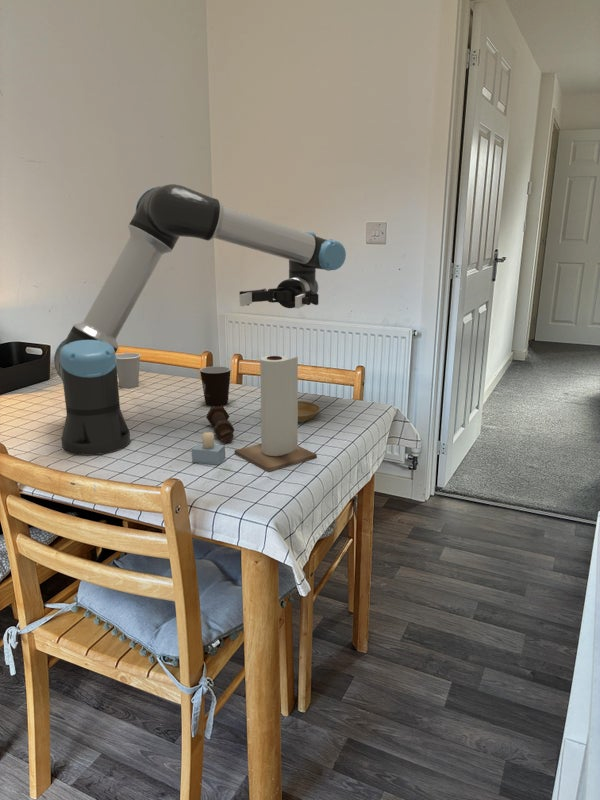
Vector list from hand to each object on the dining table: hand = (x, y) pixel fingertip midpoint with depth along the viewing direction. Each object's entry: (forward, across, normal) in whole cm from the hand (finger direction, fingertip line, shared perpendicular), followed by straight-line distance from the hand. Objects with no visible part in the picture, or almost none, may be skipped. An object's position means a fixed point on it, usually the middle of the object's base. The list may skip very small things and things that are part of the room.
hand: (268, 301), depth 137 cm
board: (+16, -6, -32) cm, 36 cm away
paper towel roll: (+16, -7, -31) cm, 36 cm away
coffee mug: (-20, +22, -32) cm, 44 cm away
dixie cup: (-30, +57, -32) cm, 72 cm away
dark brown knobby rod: (+5, +11, -32) cm, 35 cm away
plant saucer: (-13, -2, -32) cm, 35 cm away
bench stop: (+22, +7, -32) cm, 39 cm away
